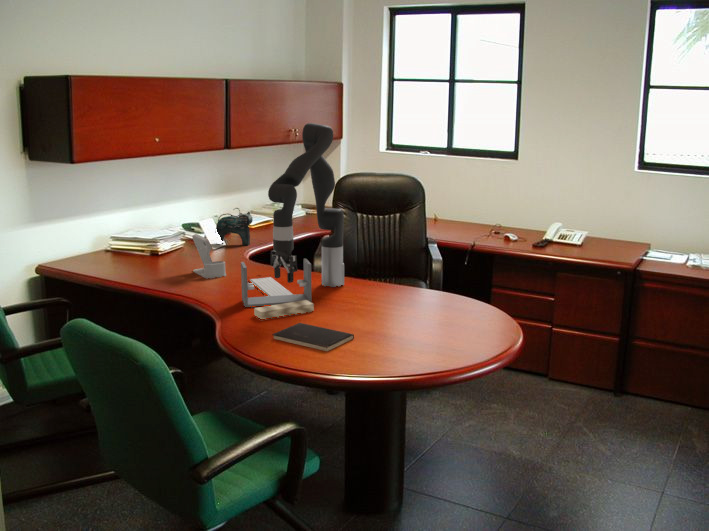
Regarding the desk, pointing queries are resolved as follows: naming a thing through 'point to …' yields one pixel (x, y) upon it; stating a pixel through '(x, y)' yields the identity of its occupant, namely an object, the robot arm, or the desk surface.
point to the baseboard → (270, 286)
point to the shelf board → (284, 309)
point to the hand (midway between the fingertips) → (283, 280)
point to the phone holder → (207, 259)
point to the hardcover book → (313, 336)
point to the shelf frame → (276, 299)
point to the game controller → (235, 226)
